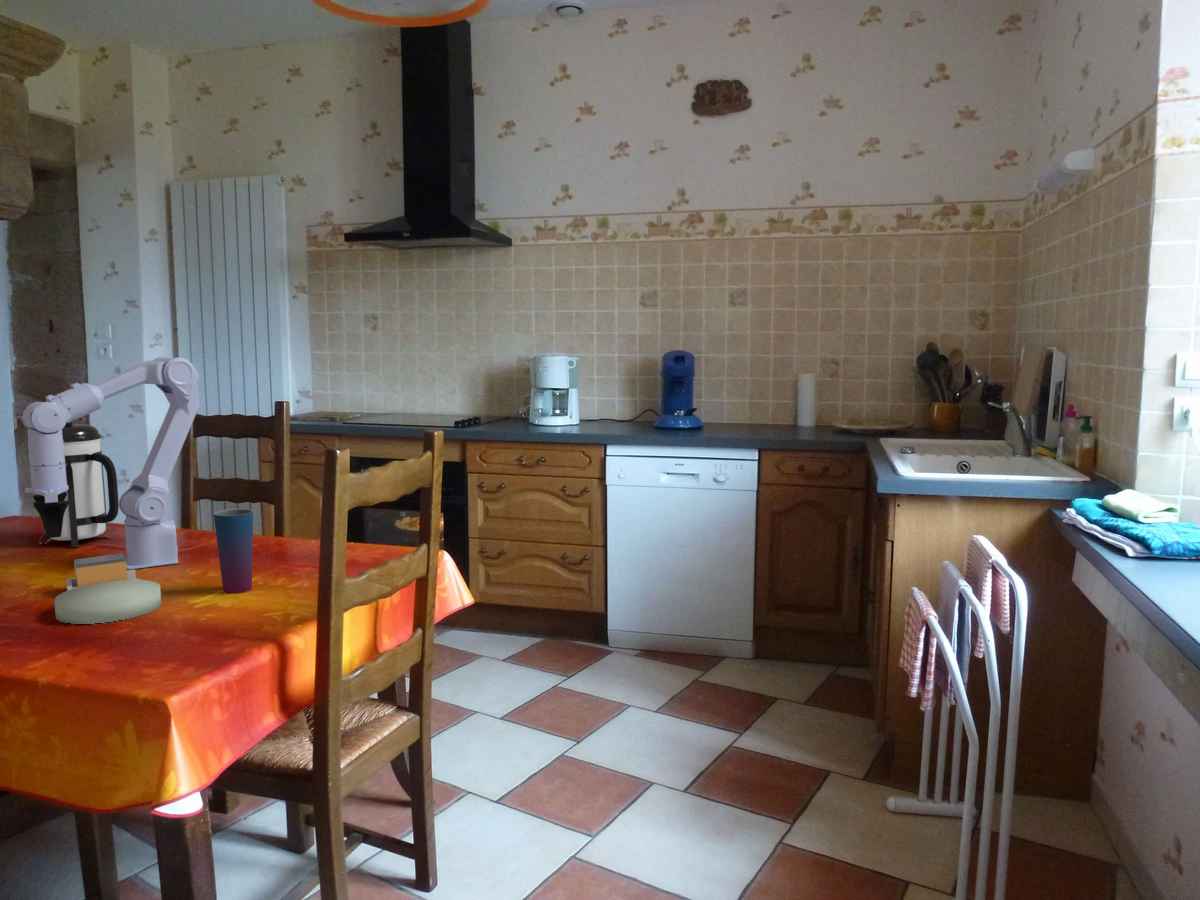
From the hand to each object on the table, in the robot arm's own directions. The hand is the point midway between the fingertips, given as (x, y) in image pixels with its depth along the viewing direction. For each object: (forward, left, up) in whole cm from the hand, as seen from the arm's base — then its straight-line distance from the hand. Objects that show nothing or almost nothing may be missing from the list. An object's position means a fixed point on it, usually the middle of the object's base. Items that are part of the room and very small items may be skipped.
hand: (53, 533), depth 163 cm
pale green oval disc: (-7, +21, -9) cm, 24 cm away
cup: (-28, +26, -10) cm, 39 cm away
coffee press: (-6, -34, -10) cm, 36 cm away
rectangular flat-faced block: (-7, +12, -10) cm, 17 cm away
